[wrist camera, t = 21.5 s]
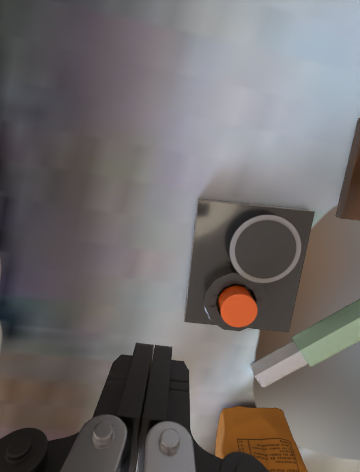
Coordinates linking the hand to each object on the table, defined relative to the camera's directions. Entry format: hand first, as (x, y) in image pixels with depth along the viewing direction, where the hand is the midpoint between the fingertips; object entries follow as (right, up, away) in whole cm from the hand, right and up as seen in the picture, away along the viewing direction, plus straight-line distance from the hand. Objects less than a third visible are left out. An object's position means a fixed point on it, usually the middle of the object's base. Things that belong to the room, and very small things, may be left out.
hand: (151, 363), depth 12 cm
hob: (+8, +2, +20) cm, 22 cm away
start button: (+7, -2, +18) cm, 20 cm away
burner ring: (+10, +4, +16) cm, 19 cm away
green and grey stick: (+20, -7, +21) cm, 30 cm away
